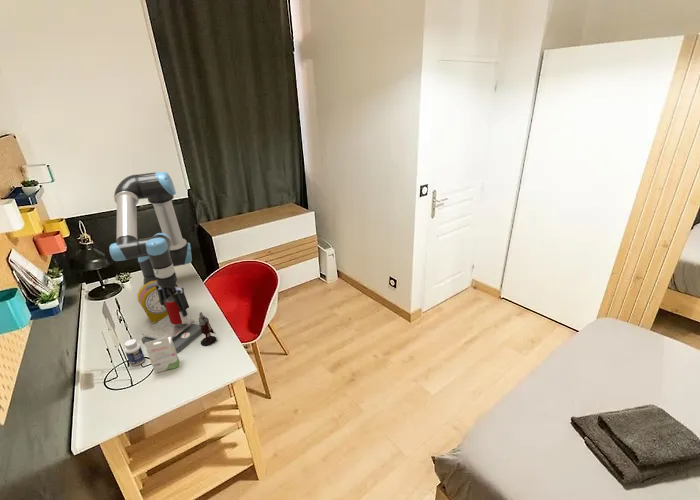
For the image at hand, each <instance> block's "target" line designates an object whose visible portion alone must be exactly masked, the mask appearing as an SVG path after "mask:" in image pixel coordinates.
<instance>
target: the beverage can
mask: <svg viewBox="0 0 700 500" xmlns="http://www.w3.org/2000/svg"><path fill="white" fill-rule="evenodd" d="M165 306H166V309H167V313H168V316H169V319H170V322H171V323H172V324H175V325H178V324H181V323H182V320H181V317H180V313H179V310H180V309H179V307H178V306H177V304H176V302H175V300H174V299H173V298H172V297H171V296H169V297H168V298H166V301H165Z"/></svg>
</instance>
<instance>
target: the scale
mask: <svg viewBox="0 0 700 500" xmlns="http://www.w3.org/2000/svg"><path fill="white" fill-rule="evenodd" d="M202 334H203V333H202V332H201V328H200V327H199V324H196V323H194V322H193V323H192V324H191V325H189V326H188V327H187V328H186V329H184V330H183V331H182V332H180V333H179V334H178V335H177V336H175V337H174V338H173V339H172V341H173V343H174V346H175V349H176V352H177V354H179V353H180V352H182V350H184V349H185V348H186V347H187V346H188V345H189V344H191V343H192V342H193V341H195V339H197V338H198V337H199V336H200V335H202ZM140 340H141V343H142V344H143V345H145V342H149V341H153V340H157V339H153V338H150V337H146V336H143V337H141V338H140Z"/></svg>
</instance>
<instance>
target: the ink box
mask: <svg viewBox="0 0 700 500" xmlns="http://www.w3.org/2000/svg"><path fill="white" fill-rule="evenodd" d="M144 345H145V348H146V354H147V355H148V357H149V360H150V363H151V366H152V368H153V371H154V373H155V374H157V373H161V372H165V371H169V370H172V369H175V368H179V362H180V361H179V360H180V359H179V356H178V353H177V352H176V349H175V346H174V343H173V341H172V338H171V337H165V338H162V339H157V340H153V341H149V342H145V344H144Z"/></svg>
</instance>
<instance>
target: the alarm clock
mask: <svg viewBox="0 0 700 500" xmlns="http://www.w3.org/2000/svg"><path fill="white" fill-rule="evenodd" d="M143 285H144V284H143ZM157 285H158V284H157V281H150V282H148V283H146V284H145V285H144V286H141V287H140V289H139V290H138V294H137V301H138V303H139V304H140V306H141V308H142V309H143V312H145V314H146V317H148V319H149V321H150V322H151V324H156V323H157V322H159V321H160V320H162V319H163V318H164V317H166V316H167V315H168V313H167V311H166V308H165V307H164V305H161V304H160V300H159V296H158V292H157V289H156V287H155V286H157Z"/></svg>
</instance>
